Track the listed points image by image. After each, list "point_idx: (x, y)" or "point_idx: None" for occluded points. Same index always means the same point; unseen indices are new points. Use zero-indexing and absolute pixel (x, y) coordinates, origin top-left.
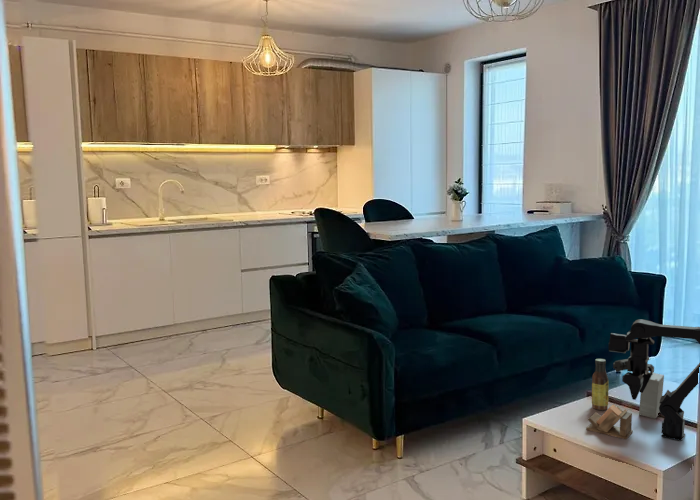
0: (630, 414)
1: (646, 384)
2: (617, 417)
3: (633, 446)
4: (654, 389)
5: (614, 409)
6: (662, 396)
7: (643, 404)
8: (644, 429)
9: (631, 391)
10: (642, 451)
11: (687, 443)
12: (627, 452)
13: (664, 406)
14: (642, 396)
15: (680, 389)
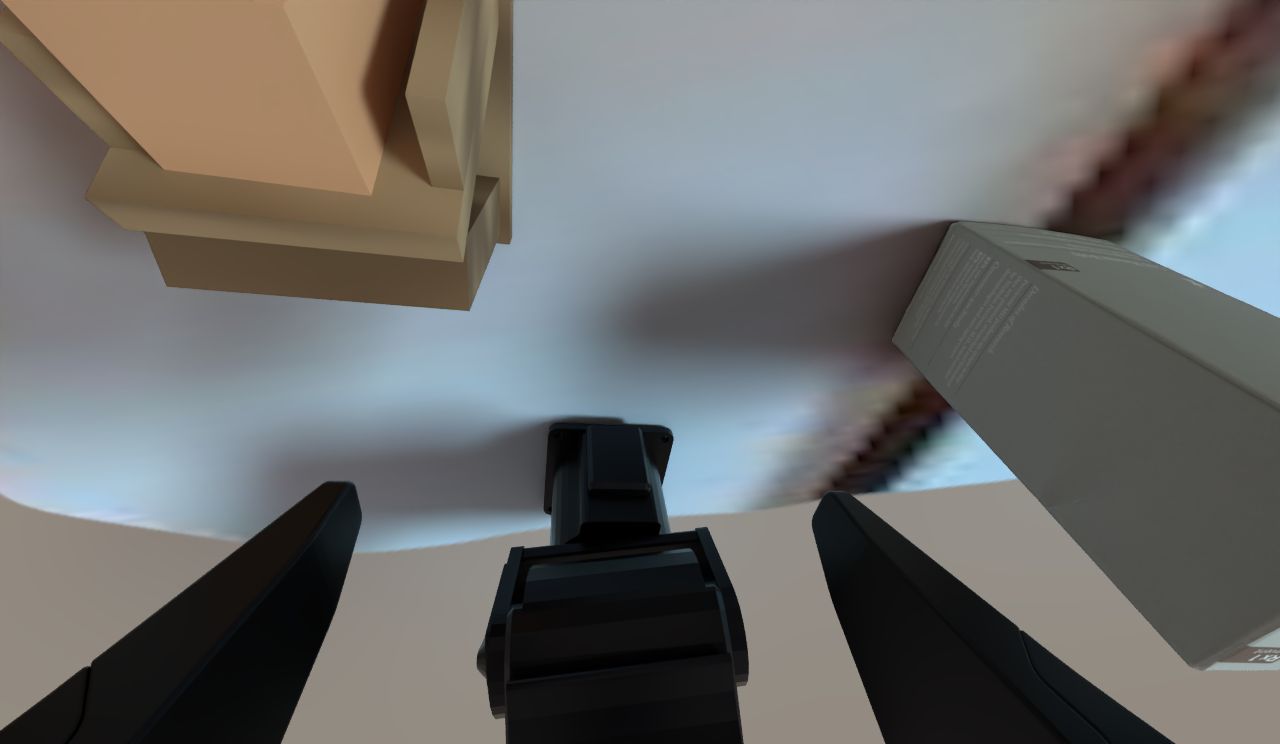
0: (406, 304)
1: (881, 724)
2: (115, 155)
3: (195, 294)
4: (1103, 517)
5: (161, 77)
6: (717, 685)
7: (1005, 300)
8: (633, 308)
9: (107, 680)
10: (162, 365)
11: (535, 529)
12: (4, 273)
13: (491, 686)
14: (1087, 330)
15: None
